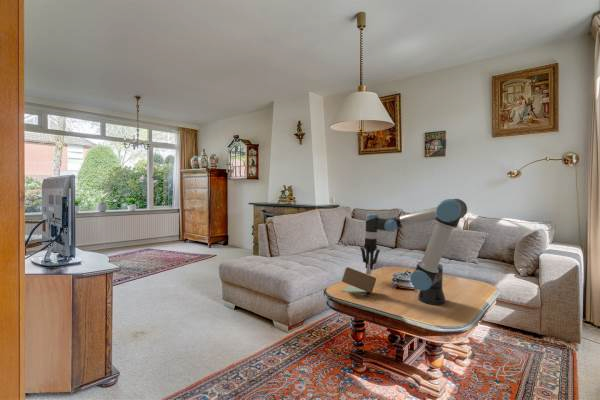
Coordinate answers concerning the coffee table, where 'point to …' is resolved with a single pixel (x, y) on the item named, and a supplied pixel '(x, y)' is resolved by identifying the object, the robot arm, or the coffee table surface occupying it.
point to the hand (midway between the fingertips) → (368, 273)
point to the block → (359, 279)
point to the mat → (354, 290)
